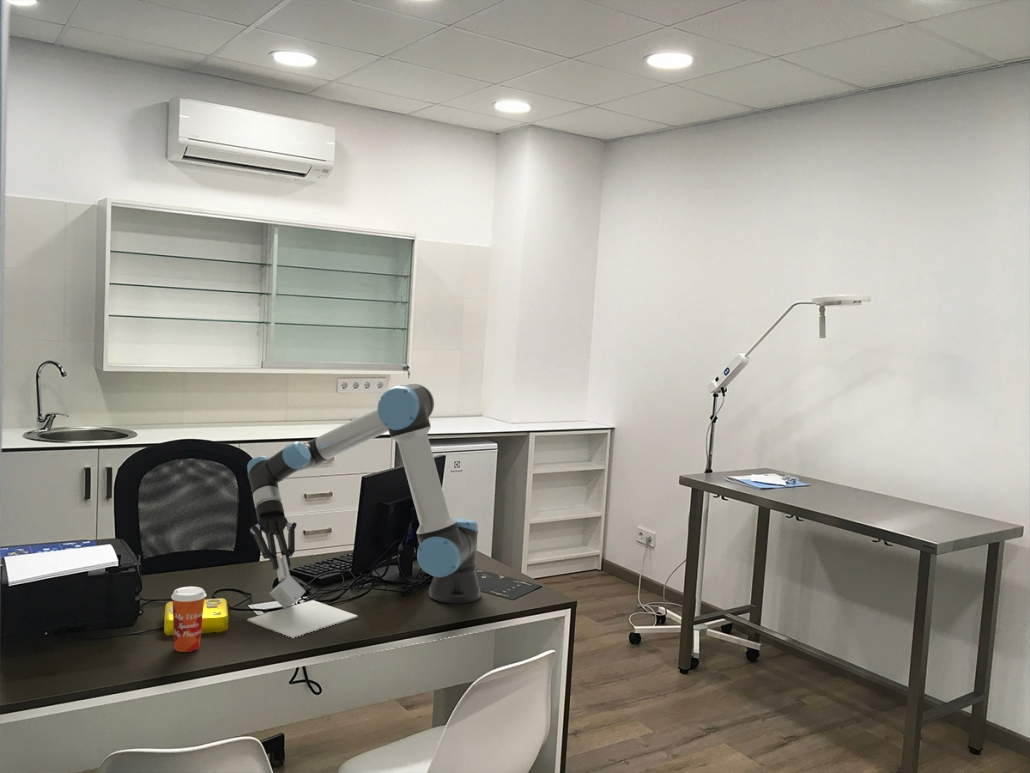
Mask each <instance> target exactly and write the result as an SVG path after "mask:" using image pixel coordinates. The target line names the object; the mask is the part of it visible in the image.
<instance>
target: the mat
mask: <svg viewBox="0 0 1030 773" xmlns="http://www.w3.org/2000/svg"><path fill="white" fill-rule="evenodd" d="M356 618H358V615H357V614H354V613H351V612H348V611H345V610H343V609H340V608H337V607H334V606H331V605H328V604H325V603H322V602H319V601H316V600H314V599H312V600H308V601H305V602H302V603H301V602H300V603H299V604H295V605H290V606H288V607H286V608H279V609H278V610H274V611H270V612H267V613H263V614H260V615H257V616H254V617H250V618H247V619H246V621H247V622H249V623H252V624H253V625H257V626H259V627H261V628H265V629H267V630H269V629H270V630H269V631H271V630H273V631H272V632H274V631H275V632H274V633H276V632H278V633H277V634H279V633H281V634H283V635H282V636H284V635H286V636H285V637H287V636H288V637H287V638H289V637H291V638H290V639H292V638H293V639H296V638H299V637H302V636H305V635H304V634H306V633H309V634H311V633H310V632H312V633H314V632H313V631H315V632H317V630H318V631H320V630H319V629H321V630H323V629H322V628H324V629H327V628H329V626H330V627H332V625H333V626H336V625H339V624H342V623H344V622H347V621H351V620H353V619H356ZM335 624H336V625H335ZM326 627H327V628H326ZM281 634H280V635H281ZM301 635H302V636H301ZM306 635H307V634H306ZM298 636H299V637H298ZM295 637H296V638H295Z"/></svg>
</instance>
